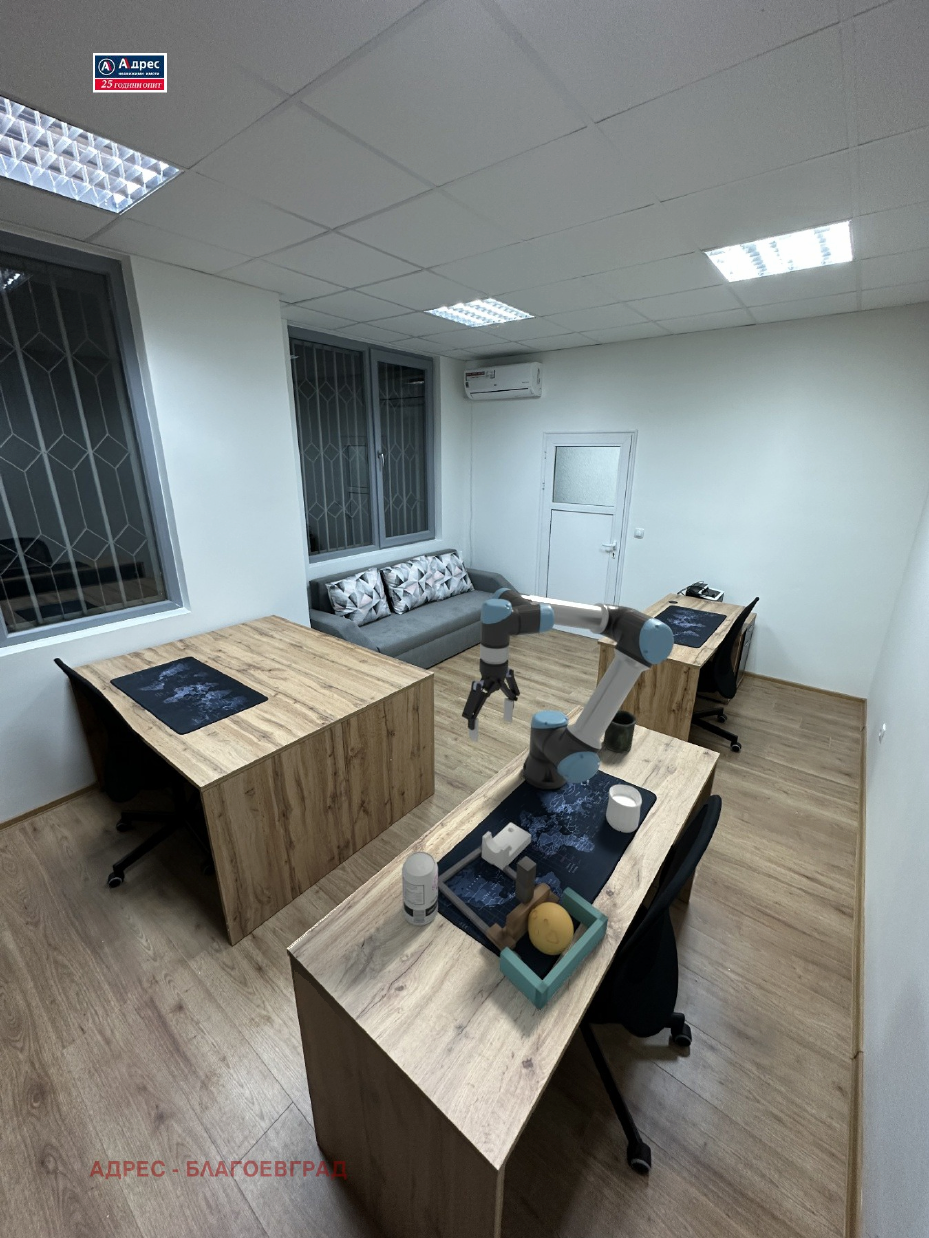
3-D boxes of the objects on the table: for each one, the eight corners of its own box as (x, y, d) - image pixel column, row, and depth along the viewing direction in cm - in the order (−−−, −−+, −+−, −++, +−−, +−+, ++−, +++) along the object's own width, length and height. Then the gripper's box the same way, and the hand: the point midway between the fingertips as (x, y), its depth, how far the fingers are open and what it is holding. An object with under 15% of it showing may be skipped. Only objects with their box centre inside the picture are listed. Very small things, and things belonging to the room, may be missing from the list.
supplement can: (399, 903, 118) (397, 855, 113) (431, 892, 122) (430, 845, 116) (409, 932, 111) (407, 883, 106) (442, 920, 115) (443, 871, 109)
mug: (597, 746, 182) (601, 718, 178) (612, 729, 193) (616, 702, 188) (626, 757, 175) (630, 728, 171) (639, 739, 186) (644, 712, 182)
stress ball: (558, 926, 115) (528, 896, 115) (587, 919, 108) (555, 887, 108) (544, 968, 107) (512, 936, 107) (575, 963, 101) (540, 929, 101)
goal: (566, 902, 120) (568, 886, 118) (605, 933, 112) (608, 917, 110) (499, 969, 104) (500, 952, 102) (540, 1010, 97) (542, 993, 95)
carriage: (539, 890, 122) (544, 835, 116) (558, 906, 118) (565, 849, 112) (486, 939, 110) (489, 880, 104) (506, 958, 106) (510, 898, 100)
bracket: (502, 873, 128) (503, 850, 125) (481, 858, 132) (482, 836, 130) (530, 844, 137) (532, 823, 135) (510, 831, 141) (511, 810, 139)
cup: (623, 806, 152) (627, 780, 148) (646, 828, 143) (651, 801, 140) (598, 814, 148) (602, 788, 145) (620, 837, 140) (624, 810, 136)
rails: (481, 847, 135) (481, 844, 135) (565, 915, 116) (565, 912, 116) (433, 883, 124) (433, 880, 124) (516, 965, 105) (516, 962, 104)
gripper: (515, 642, 137) (511, 708, 144) (448, 667, 121) (447, 740, 128) (535, 650, 132) (530, 718, 139) (469, 677, 116) (467, 753, 123)
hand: (491, 729), depth 134 cm, fingers open, 13 cm apart
